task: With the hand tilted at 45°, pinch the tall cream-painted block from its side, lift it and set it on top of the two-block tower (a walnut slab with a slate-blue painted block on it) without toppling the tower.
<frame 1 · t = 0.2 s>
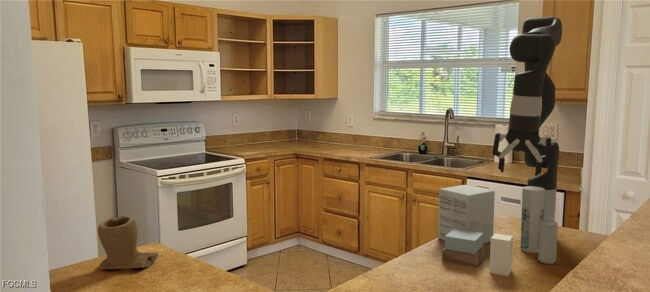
hand: (518, 173, 135), 29 cm above the countertop, tool pointing down, fingers open, 8 cm apart
stone cup: (127, 268, 148), on the countertop
supplement box: (465, 240, 172), on the countertop
slate-blue top block: (463, 247, 153), point 4 cm above the countertop
beverage can: (546, 262, 150), on the countertop
spray can: (530, 250, 161), on the countertop
cream block: (500, 271, 143), on the countertop
walnut base block: (463, 260, 153), on the countertop
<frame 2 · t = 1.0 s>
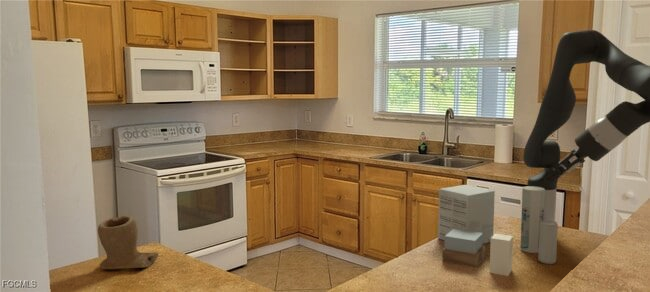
hand: (549, 179, 133), 28 cm above the countertop, tool tilted 45°, fingers open, 8 cm apart
slate-blue top block: (463, 247, 153), point 4 cm above the countertop, touching walnut base block
walnut base block: (463, 260, 153), on the countertop, touching slate-blue top block
everything else where it was.
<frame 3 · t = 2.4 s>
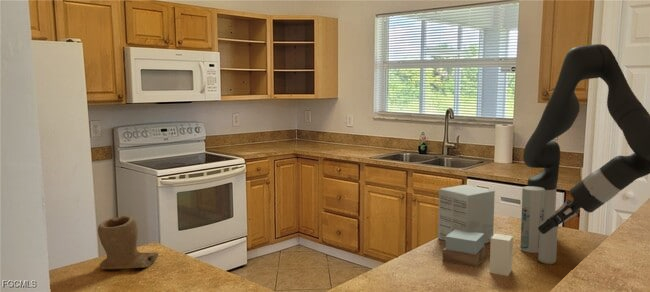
hand: (544, 227, 135), 15 cm above the countertop, tool tilted 45°, fingers open, 8 cm apart
nothing on the countertop moved.
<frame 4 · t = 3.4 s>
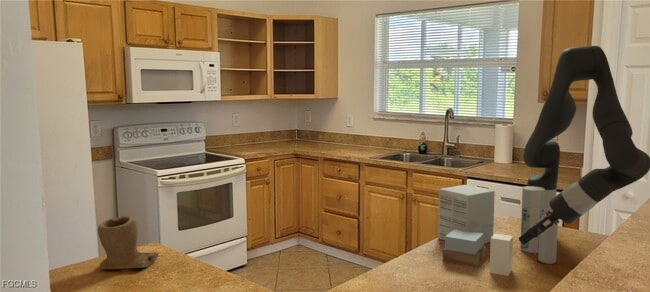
hand: (525, 237, 138), 11 cm above the countertop, tool tilted 45°, fingers open, 8 cm apart
nothing on the countertop moved.
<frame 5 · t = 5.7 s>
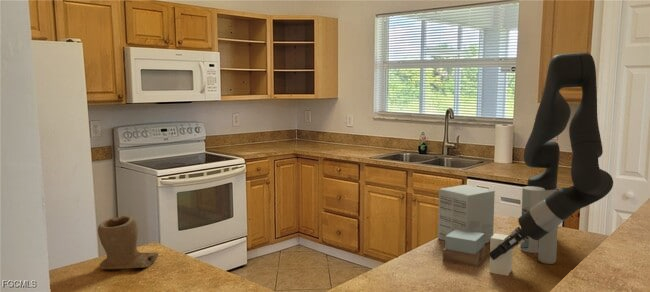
hand: (494, 253, 143), 5 cm above the countertop, tool tilted 45°, fingers closed on cream block, 5 cm apart
cream block: (500, 271, 143), on the countertop, touching gripper
everything else where it was.
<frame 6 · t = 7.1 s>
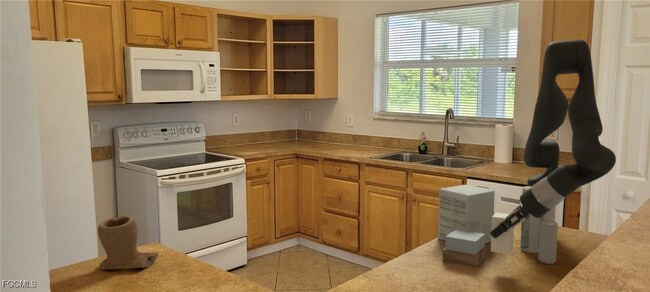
hand: (496, 232, 143), 11 cm above the countertop, tool tilted 45°, fingers closed on cream block, 5 cm apart
cream block: (502, 250, 142), point 6 cm above the countertop, touching gripper
everything else where it was.
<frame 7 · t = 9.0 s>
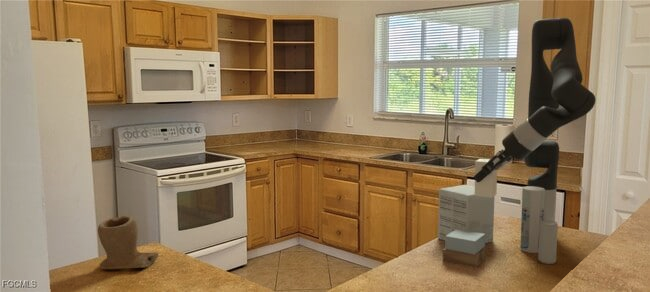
hand: (479, 178, 146), 26 cm above the countertop, tool tilted 45°, fingers closed on cream block, 5 cm apart
slate-blue top block: (465, 247, 152), point 4 cm above the countertop
cream block: (485, 194, 145), point 21 cm above the countertop, touching gripper
walnut base block: (464, 260, 153), on the countertop
everything else where it was.
when the fingers open (13 cm above the countertop, at t = 12.7 s): cream block moves 1 cm, resting on slate-blue top block.
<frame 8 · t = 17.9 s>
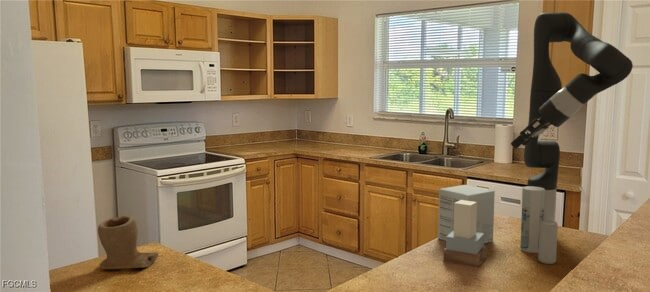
hand: (517, 144, 149), 35 cm above the countertop, tool tilted 45°, fingers open, 8 cm apart
slate-blue top block: (465, 247, 153), point 4 cm above the countertop, touching cream block
cream block: (464, 235, 152), point 8 cm above the countertop, touching slate-blue top block
everything else where it was.
at the end: cream block inside the target area on the slate-blue top block (0.4 cm from its centre), point 4.0 cm above the slate-blue top block's base; cream block tilted 0°; slate-blue top block moved 0.6 cm from its start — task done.
